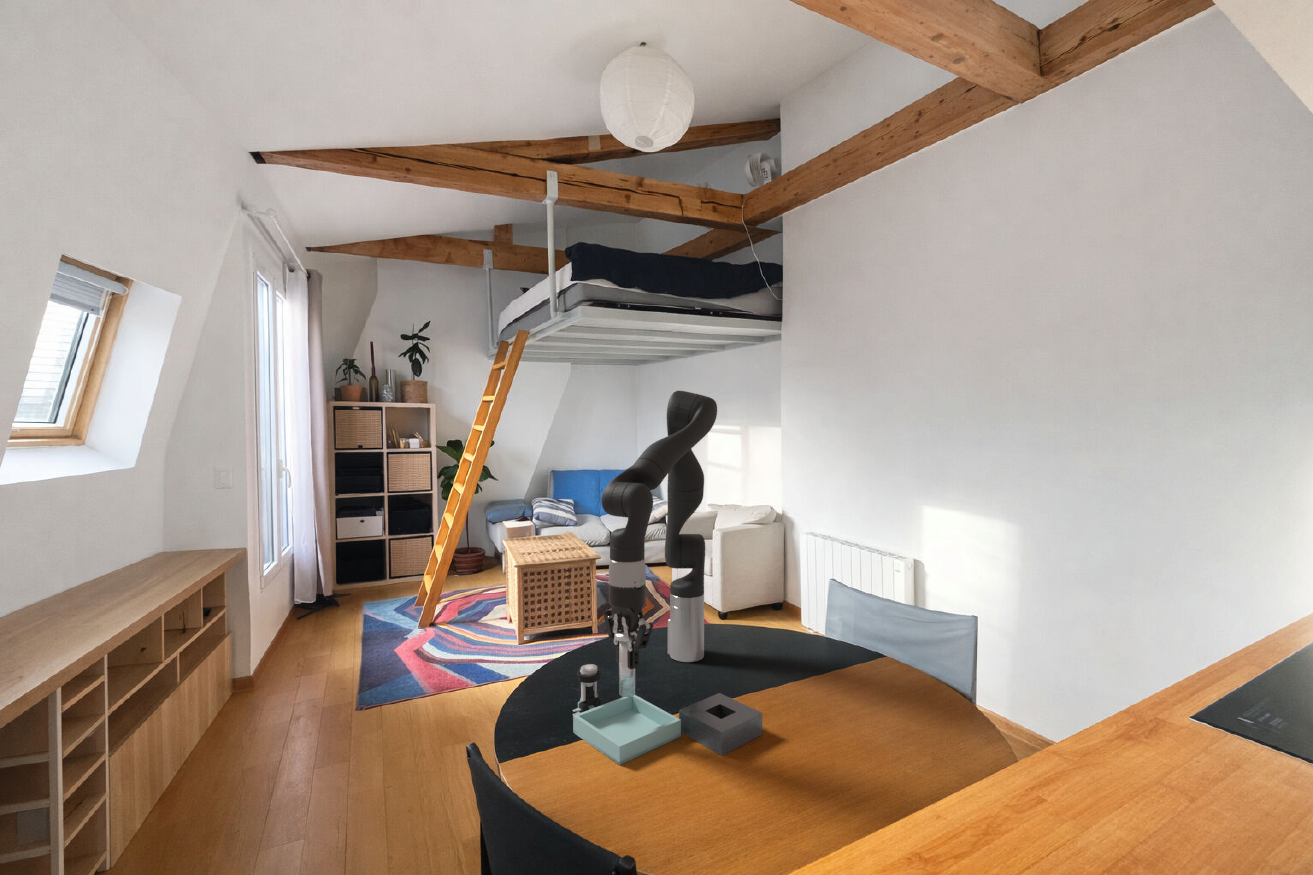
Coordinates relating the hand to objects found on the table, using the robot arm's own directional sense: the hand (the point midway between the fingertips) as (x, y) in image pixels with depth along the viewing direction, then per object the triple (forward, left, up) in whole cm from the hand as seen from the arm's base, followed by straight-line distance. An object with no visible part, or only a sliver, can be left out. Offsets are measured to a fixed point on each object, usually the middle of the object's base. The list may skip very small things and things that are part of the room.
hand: (627, 664), depth 124 cm
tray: (0, 0, -14) cm, 14 cm away
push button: (-13, -1, -15) cm, 20 cm away
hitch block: (+12, +15, -14) cm, 24 cm away
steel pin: (0, 0, -6) cm, 6 cm away
